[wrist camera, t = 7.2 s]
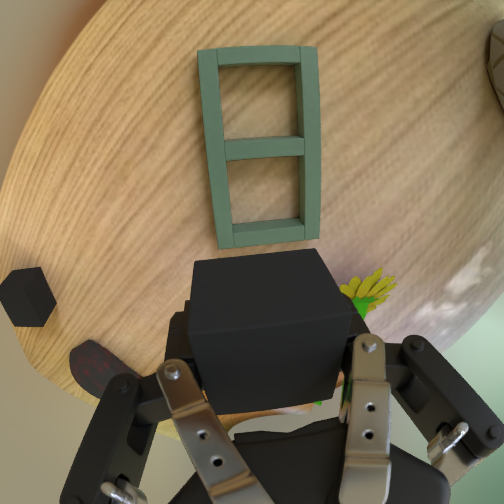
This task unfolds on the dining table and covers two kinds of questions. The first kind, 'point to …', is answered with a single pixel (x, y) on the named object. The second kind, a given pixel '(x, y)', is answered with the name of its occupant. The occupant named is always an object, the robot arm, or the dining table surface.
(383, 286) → the flower
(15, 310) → the black block
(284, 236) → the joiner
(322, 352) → the black near-cubic block
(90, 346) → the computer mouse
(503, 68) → the planter
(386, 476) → the robot arm
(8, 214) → the dining table surface
